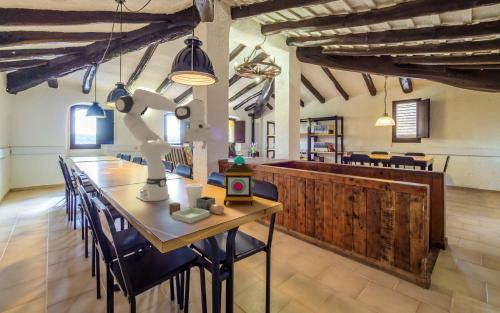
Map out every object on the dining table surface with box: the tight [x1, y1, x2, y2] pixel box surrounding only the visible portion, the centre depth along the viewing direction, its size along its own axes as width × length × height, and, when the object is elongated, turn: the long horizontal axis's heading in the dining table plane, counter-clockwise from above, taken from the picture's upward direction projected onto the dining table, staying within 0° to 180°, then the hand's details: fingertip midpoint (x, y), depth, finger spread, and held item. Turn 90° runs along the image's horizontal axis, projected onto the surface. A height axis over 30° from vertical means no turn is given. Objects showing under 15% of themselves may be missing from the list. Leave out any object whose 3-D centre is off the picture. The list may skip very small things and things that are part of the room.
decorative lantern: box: [223, 155, 256, 207], centre depth 150 cm, size 20×20×30 cm
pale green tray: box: [171, 207, 211, 224], centre depth 121 cm, size 13×13×3 cm
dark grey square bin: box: [196, 196, 216, 211], centre depth 133 cm, size 7×7×7 cm
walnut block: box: [168, 201, 181, 215], centre depth 126 cm, size 4×4×6 cm
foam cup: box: [185, 183, 204, 208], centre depth 140 cm, size 10×9×13 cm
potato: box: [210, 203, 225, 215], centre depth 128 cm, size 6×5×5 cm
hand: (197, 148), depth 145 cm, fingers open, 8 cm apart
